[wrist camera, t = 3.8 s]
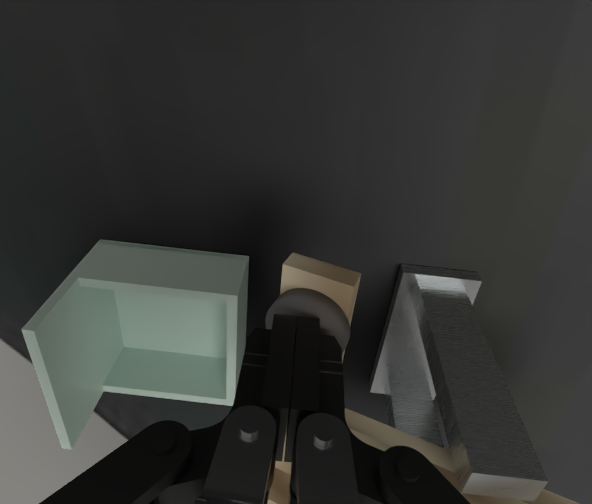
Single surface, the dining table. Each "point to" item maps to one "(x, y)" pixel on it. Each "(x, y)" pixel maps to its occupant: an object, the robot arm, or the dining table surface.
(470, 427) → the fulcrum
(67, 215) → the dining table surface
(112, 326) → the pale green cubby shelf
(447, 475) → the lever
